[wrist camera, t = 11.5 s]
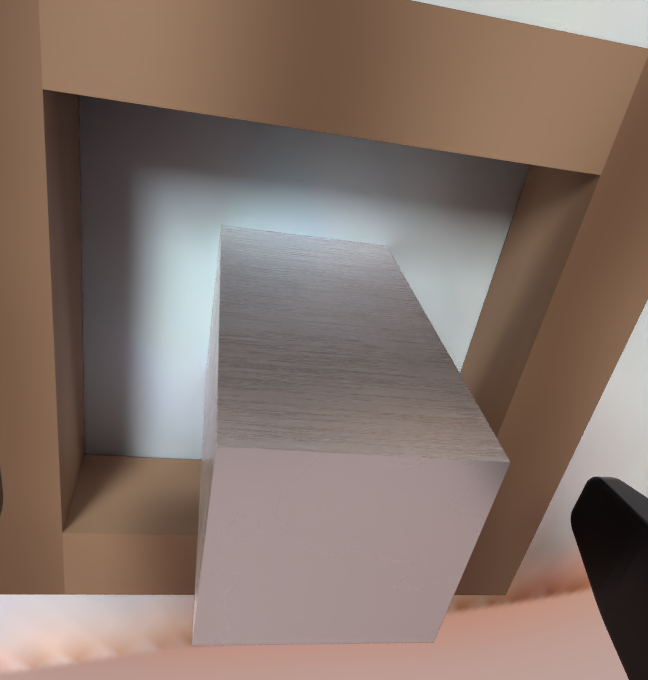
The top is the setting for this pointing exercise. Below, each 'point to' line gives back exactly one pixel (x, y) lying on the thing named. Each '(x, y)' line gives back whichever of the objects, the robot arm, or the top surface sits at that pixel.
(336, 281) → the steel square peg
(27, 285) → the square wooden frame
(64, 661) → the top surface
